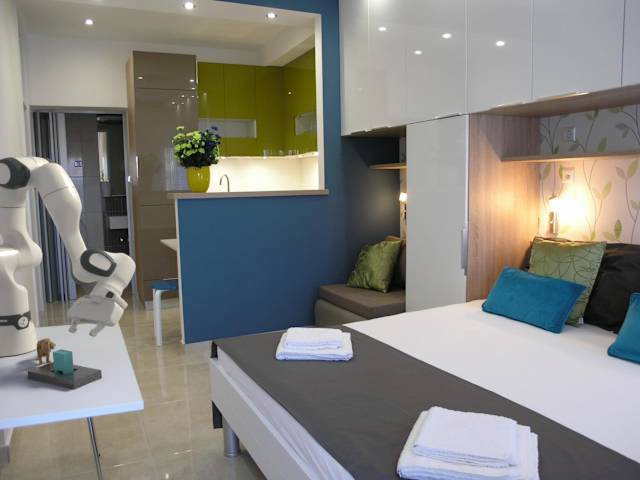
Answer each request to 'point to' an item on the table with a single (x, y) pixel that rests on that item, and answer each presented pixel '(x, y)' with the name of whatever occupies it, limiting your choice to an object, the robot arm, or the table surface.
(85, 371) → the gray rectangular base
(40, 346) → the lion figurine
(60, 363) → the teal rectangular prism
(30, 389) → the table surface
